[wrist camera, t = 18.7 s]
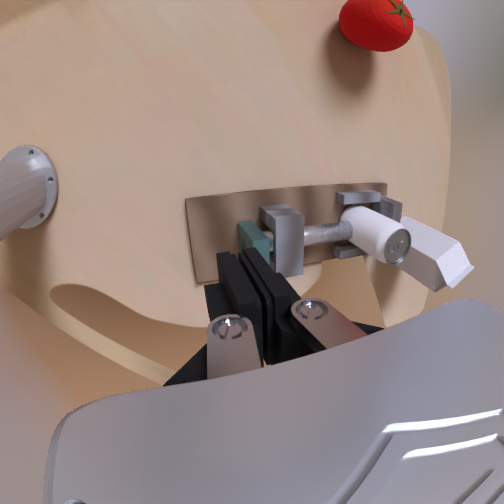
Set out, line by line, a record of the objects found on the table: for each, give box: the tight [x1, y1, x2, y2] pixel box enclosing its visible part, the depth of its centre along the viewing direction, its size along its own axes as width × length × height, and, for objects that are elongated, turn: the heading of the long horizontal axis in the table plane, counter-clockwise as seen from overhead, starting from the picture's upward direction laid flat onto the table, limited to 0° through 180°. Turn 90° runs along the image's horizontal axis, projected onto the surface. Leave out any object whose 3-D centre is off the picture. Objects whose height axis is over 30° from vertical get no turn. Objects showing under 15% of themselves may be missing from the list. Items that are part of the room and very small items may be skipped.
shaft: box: [238, 220, 353, 266], centre depth 40 cm, size 17×5×8 cm, turn 93°
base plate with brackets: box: [186, 183, 402, 283], centre depth 42 cm, size 35×13×8 cm, turn 93°
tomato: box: [339, 0, 413, 52], centre depth 28 cm, size 11×11×13 cm
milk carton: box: [396, 216, 474, 292], centre depth 44 cm, size 7×7×19 cm
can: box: [340, 205, 411, 265], centre depth 41 cm, size 6×6×12 cm
